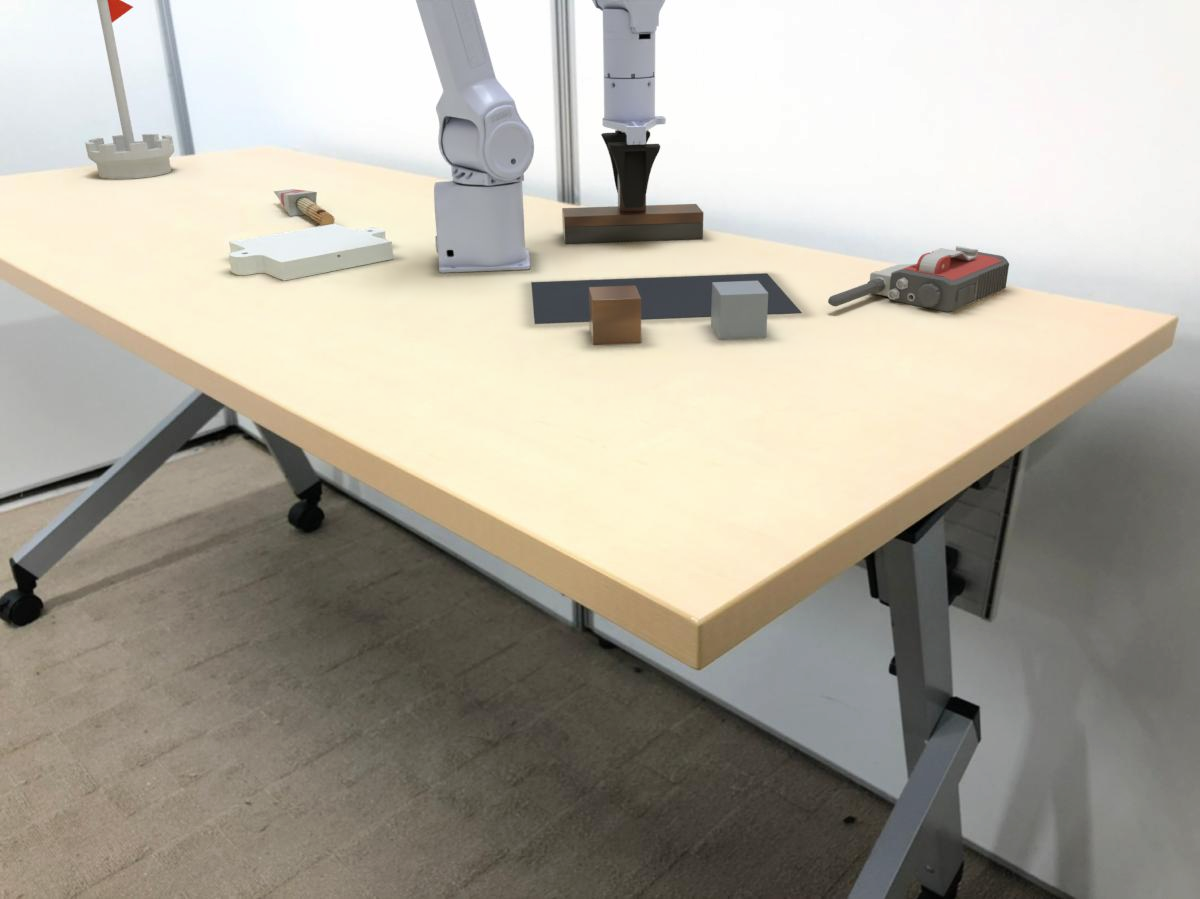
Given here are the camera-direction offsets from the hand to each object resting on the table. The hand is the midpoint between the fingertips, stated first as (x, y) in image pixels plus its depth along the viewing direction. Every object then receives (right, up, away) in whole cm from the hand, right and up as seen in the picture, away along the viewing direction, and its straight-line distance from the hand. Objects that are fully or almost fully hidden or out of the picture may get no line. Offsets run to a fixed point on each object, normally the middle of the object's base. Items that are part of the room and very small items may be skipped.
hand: (630, 200), depth 123 cm
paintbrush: (-42, +2, +17) cm, 46 cm away
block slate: (+8, -19, -32) cm, 38 cm away
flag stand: (-79, +16, +51) cm, 96 cm away
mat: (+2, -14, -22) cm, 26 cm away
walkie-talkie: (+26, -15, -24) cm, 39 cm away
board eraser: (0, -4, +2) cm, 4 cm away
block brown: (-2, -19, -33) cm, 38 cm away
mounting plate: (-35, -8, -5) cm, 37 cm away
